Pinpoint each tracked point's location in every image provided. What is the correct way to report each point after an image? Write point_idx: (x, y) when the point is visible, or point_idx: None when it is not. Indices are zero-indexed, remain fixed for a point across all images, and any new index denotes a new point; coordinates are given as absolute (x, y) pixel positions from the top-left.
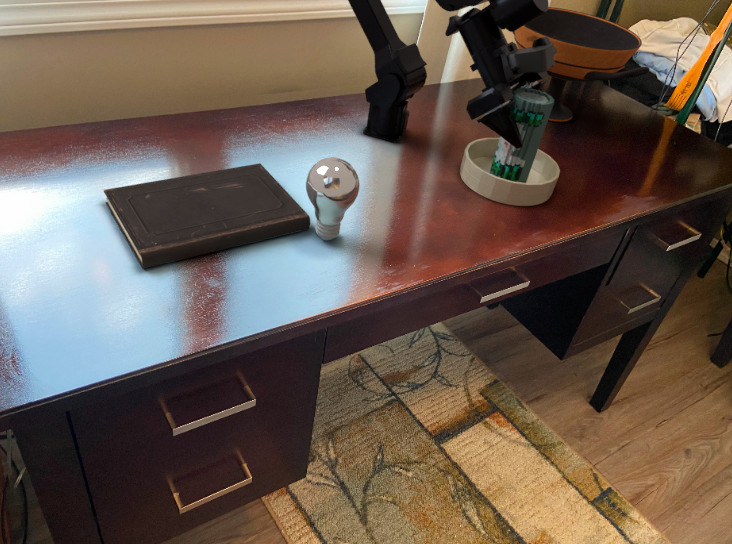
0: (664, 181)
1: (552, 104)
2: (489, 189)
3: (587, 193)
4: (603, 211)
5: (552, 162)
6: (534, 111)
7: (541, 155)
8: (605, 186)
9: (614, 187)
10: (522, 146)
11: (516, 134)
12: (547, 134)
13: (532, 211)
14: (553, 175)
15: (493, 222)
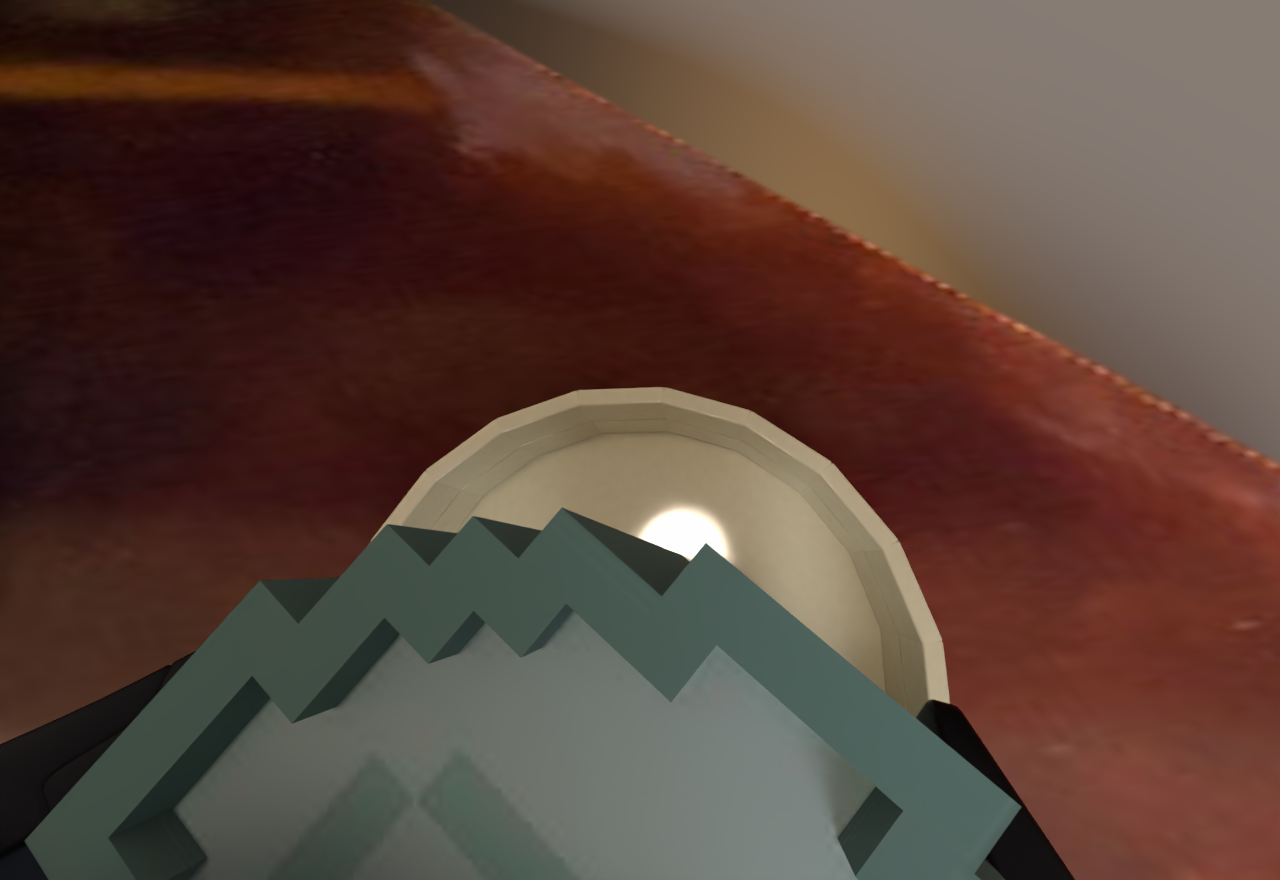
0: (263, 40)
1: (600, 533)
2: None
3: (531, 280)
4: (653, 203)
5: (490, 444)
6: (995, 872)
7: (418, 518)
8: (424, 223)
9: (413, 191)
10: (939, 701)
11: (1066, 874)
12: (20, 529)
13: (864, 481)
14: (571, 425)
15: (1122, 650)
